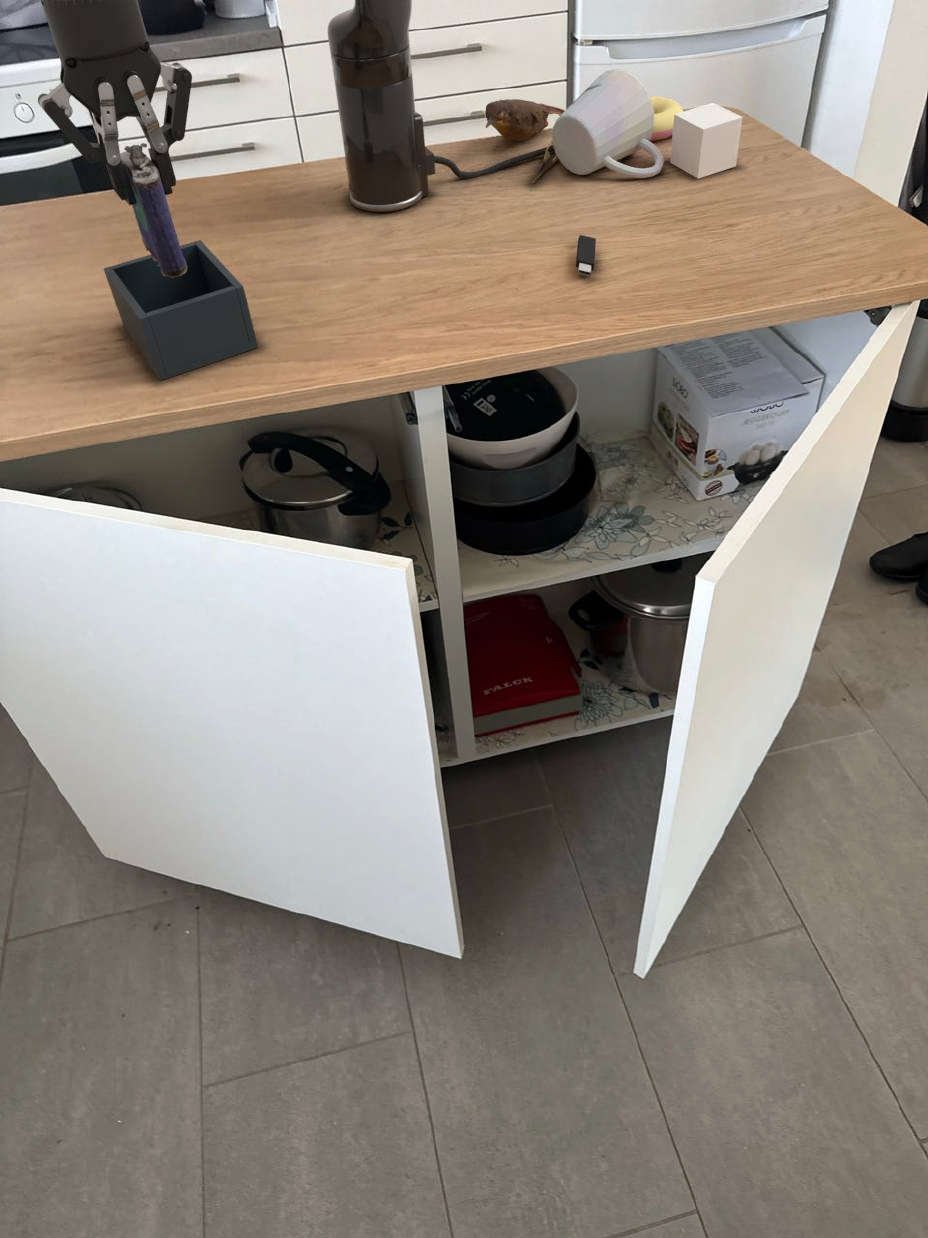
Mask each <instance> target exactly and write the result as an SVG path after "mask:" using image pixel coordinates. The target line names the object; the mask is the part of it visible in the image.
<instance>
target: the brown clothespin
mask: <svg viewBox="0 0 928 1238" xmlns="http://www.w3.org/2000/svg"><path fill="white" fill-rule="evenodd" d="M551 145H553V141H552V139H551V140H550V142H549V143H548V145H547V146H546V147H547V150H546V152H545V154H544V157H543V159H542V164H541V166H540V168H539V170H538V172H537V173H536V175H535V176H534V179H533V181H532V184H534V183H535V182H536V181H537V180H538V179H540V178H541V177H542V176H543V175H544V173H546V171H548V170H549V168H550V167H551V166H552V165H553V164H555V162H557V161H558V160H559V158H558V156H557V155H556V154H555V157H554V158H553V159H551V160H550V161H549V162H548V160H549V159H550V157H551V155H550V154H551V152H549V151H548V148H549V146H551ZM547 162H548V163H547Z"/></svg>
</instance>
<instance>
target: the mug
mask: <svg viewBox="0 0 928 1238" xmlns="http://www.w3.org/2000/svg"><path fill="white" fill-rule="evenodd" d="M650 97H651V96H650V95H649V93H648V90H647V89H646V88H645V86H644V85H643V83H642V82H641V81H640V80H639V79H638V78H637V77H636V76H635V75H633V74H631V73H630V72H629V71H628V70H623V69H619V68H614V69H609V70H605V71H604V72H603V73H602V74H600V75H599V76H598V77H597V78H596V79H595V80H594V81H593V82H592V83H591V84H590V85H589V86H588V87H587V88H586V89H585V90H584V91H583V92H582V93H581V94H580V95H579V96H578V97H577V98H576V99H575V100H574V101H573V102H572V103H571V104H570V105H568V107H567V108H566V109H565V112H564V113H563V114H562V115H561V116H558V118H556V121H555V122H554V125H553V126H552V131H551V140H552V141H553V146H554V149H555V151H554V152H555V156H556V155H557V156H558V158H559V159H558V160H559V162H560V163H561V164H562V165H563V167H564V168H565V169H567V170H568V171H569V172H571V173H572V174H575V175H578V176H585V175H589V174H592V173H594V172H596V171H597V170H600V169H602V168H604V167H606V168H607V169H609V170H611V171H613V172H615V173H618V174H620V175H623V176H625V177H630V178H634V179H635V178H636V179H648V178H652V177H654V176H656V175H658V174H660V173H661V171H662V169H663V166H664V165H665V163H664V162H665V161H664V156H663V154H662V152H661V150H660V149H659V148H658V147H657V146H656V144H654V143H653V142H652V141H649V140H650V138H651V137H652V133H653V129H654V110H653V106H652V102H651V99H650ZM640 150H644V151H646V152H647V153H648V154H649V155H650V156H651V157H652V159H653V160H654V163H653V164H654V165H653V166H651V167H645V168H642V167H641V168H639V167H633V166H629V165H626V164H624V163H621V162H619V161H620V160H622V159H624V158H627V157H628V156H630V155H633V154H634V153H637V152H638V151H640Z"/></svg>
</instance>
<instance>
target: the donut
mask: <svg viewBox="0 0 928 1238" xmlns="http://www.w3.org/2000/svg"><path fill="white" fill-rule="evenodd" d="M649 97H650V99H651V102H652V106H653V110H654V129H653V133H652V137H651V138H650V140H649V142H654V141H660V140H664V139H668V138H669V137H672V135H673V124H674V114H677V113H680V112H684V111H685V110H684V108H683V107H682V106H681V104H680V103H679V102H677V101H676V100H674V99H670V98H668V97H663V96H649Z"/></svg>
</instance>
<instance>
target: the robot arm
mask: <svg viewBox="0 0 928 1238" xmlns="http://www.w3.org/2000/svg"><path fill="white" fill-rule="evenodd" d="M40 2H41V5H42V9H43V12H44V15H45V18H46V21H47V24H48V27H49V30H50V33H51V36H52V39H53V42H54V45H55V48H56V51H57V54H58V57H59V60H60V66H61V67H60V74H59V79H60V83H59V84H58V85H57V86H56V87H54V88H53V90H51V91H50V92H49V93H41V94H39V95H38V97H37V104H38V105H39V107H40V108H41V109H42V111H43V112H44V113H45V114H46V115H47V116H48V117H49V119H51V121H52V122H53V124H54V125H55V126H56V127H57V128H58V130H60V131H61V132H62V134H63V135H64V136H65V137H66V138H67V140H68V141H69V142H70V143H71V144H72V145H73V146H74V148H75V149H76V150H77V151H78V152H79V153H80V155H81V156H82V157H83V158H84V159H85V161H86V162H87V163H89V164H92V165H93V164H94V165H95V164H96V163H101V164H105V166H106V170H107V173H108V176H109V179H110V182H111V185H112V188H113V191H114V192H115V194H116V195H117V197H119V199H120V200H121V201H125V202H126V203H127V204H128V205H129V206H132V205H133V204H136V203H137V201H136V198H135V194H134V191H133V188H132V185H131V181H130V178H129V175H128V172H127V168H126V165H125V163H124V162H123V161H122V160H121V157H120V154H121V151H120V143H119V136H120V134H119V128H118V122H120V121H122V120H123V119H125V118H127V117H129V118H130V117H131V118H135V119H136V120H137V122H138V124H139V126H140V128H141V130H142V132H143V135H144V137H145V139H146V141H147V143H148V144H149V148H147V151H148V155H149V157H150V158H149V159H150V160H151V161H152V162H153V163H154V164H155V166H156V167H157V169H158V171H159V175H160V178H161V182H162V185H163V189H164V193H165V196H168V195H172V194H174V192H173V188H172V187H176V185H177V178H176V175H175V169H174V167H173V163H172V159H171V156H170V148H171V146H172V145H173V144H175V143H177V142H181V141H183V140H184V139H185V136H186V128H187V121H188V112H189V106H190V105H189V104H190V97H191V91H192V82H193V75H192V72H191V71H190V70H189V69H187V68H186V67H185V66H184V65H182V64H181V63H179V62H173V63H172V64H171V63H168V62H163V61H160V59H159V57H158V56H157V55H156V54H155V52H154V51H153V49H152V47H151V45H150V41H149V38H148V35H147V31H146V27H145V24H144V20H143V15H142V12H141V8H140V4H139V0H40ZM412 10H413V0H354V6H353V8H350V9H348V10H345V11H343V12H341V13H339V14H337V15H335V16H334V17H332V18H331V19H330V21H329V22H328V25H327V38H328V47H329V52H330V61H331V66H332V74H333V81H334V88H335V94H336V101H337V110H338V116H339V122H340V130H341V137H342V144H343V153H344V161H345V168H346V173H347V180H348V188H349V200H350V203H351V204H352V205H353V206H354V207H355V208H357V209H360V210H362V211H367V212H372V213H373V212H375V213H387V212H388V213H389V212H394V211H400V210H403V209H407V208H409V207H412V206H414V205H416V204H417V203H418V202H420V201H421V199H422V198H424V197H428V196H429V195H430V191H429V189H430V188H429V178H428V177H429V176H432V175H436V164H437V165H438V164H439V165H443V166H446V167H448V168H449V169H450V170H451V171H452V173H453V174H454V175H455V176H456V177H457V178H458V179H459V178H460V179H466V180H471V179H474V178H479V177H483V176H487V175H490V174H493V173H496V172H498V171H501V170H503V169H505V168H508V167H510V166H512V165H516V164H519V163H522V162H526V161H528V160H533V159H535V158H539V157H541V156H545V152H546V150H547V147H548V146H545V147H543V148H539V149H536V150H533V151H530V152H527V153H524V154H520V155H516V156H514V157H510V158H508V159H505V160H502V161H501V162H498V163H496V164H494V165H491V166H489V167H487V168H484V169H482V170H478V171H463V170H461V169H459V167H458V166H457V164H455V162H454V161H452V160H451V159H449V158H447V157H443V156H439V155H435V154H434V153H433V152H432V151H431V150H430V149H429V148H428V147H427V146H426V142H425V141H426V140H425V130H424V129H425V127H424V119H423V116H422V115H421V114H420V113H418V112H417V111H416V101H415V90H414V79H413V68H412V58H411V57H412V56H411V45H410V31H409V30H410V24H411V16H412ZM160 76H161V80H162V86H163V88H164V89H166V93H167V94H166V99H165V108H164V109H165V110H164V115H163V116H164V117H163V125H161V126H160V121H159V119H158V117H157V115H156V113H155V111H154V108H153V106H152V104H151V103H152V101H153V97H154V94H155V91H156V88H157V85H158V82H159V78H160ZM71 97H73V98H74V99H75V100H76V101H77V102H79V103H80V104H81V105H82V106H83V107H85V108H86V109H87V110H88V111H89V112H90V113H91V114H92V117H93V118H92V120H93V124H94V125H93V126H94V128H95V131H96V136H97V142H96V143H95V142H90V141H88V139H87V138H86V137H85V135H83V133H82V132H81V131H80V129H78V127H77V126H76V125H75V123H74V122H73V121H72V120H71V119H70V118H71V117H72V115H73V111H74V109H73V107H72V105H71V104H70V98H71ZM548 151H549V152H550V153H553V152H555V149H554V146H553V145H551V146H549V148H548Z"/></svg>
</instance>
